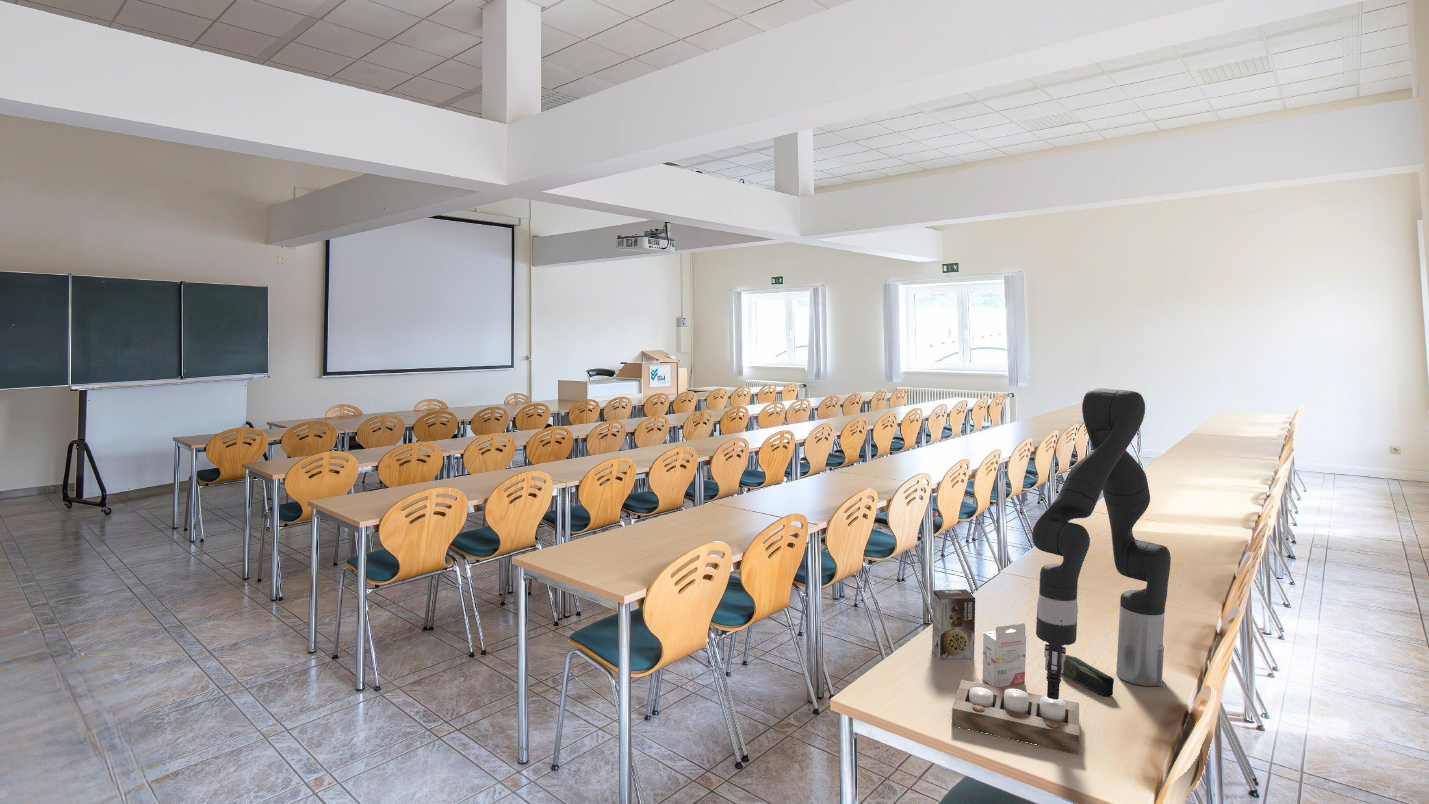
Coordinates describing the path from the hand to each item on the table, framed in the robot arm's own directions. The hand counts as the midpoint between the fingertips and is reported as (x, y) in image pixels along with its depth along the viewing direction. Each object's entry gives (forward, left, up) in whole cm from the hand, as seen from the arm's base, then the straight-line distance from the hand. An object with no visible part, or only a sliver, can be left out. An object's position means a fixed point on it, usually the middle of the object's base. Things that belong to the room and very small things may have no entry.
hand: (1052, 697), depth 152 cm
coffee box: (+24, -29, -8) cm, 38 cm away
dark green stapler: (-6, -26, -8) cm, 28 cm away
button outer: (+14, 0, -6) cm, 15 cm away
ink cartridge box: (+11, -19, -8) cm, 23 cm away
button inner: (0, 0, -5) cm, 5 cm away
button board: (+7, 0, -7) cm, 10 cm away
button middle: (+7, 0, -5) cm, 9 cm away
